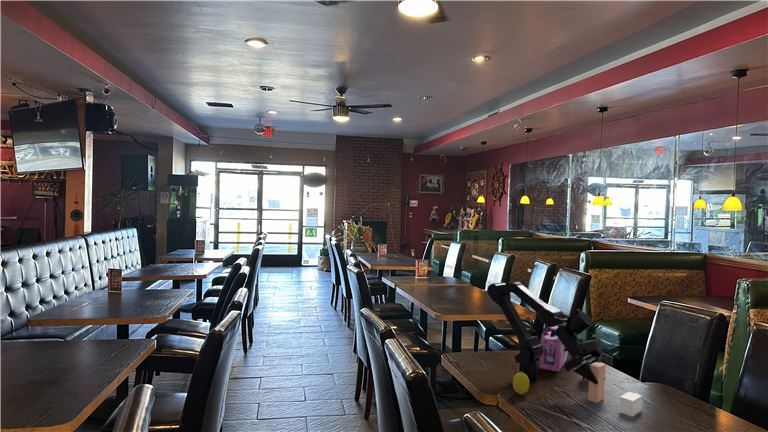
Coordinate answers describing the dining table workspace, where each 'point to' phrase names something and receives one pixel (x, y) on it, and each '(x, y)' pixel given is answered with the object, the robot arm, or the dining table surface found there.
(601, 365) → the stub
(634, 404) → the white long block
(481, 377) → the dining table surface
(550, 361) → the gum box
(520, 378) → the lemon
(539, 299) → the robot arm
